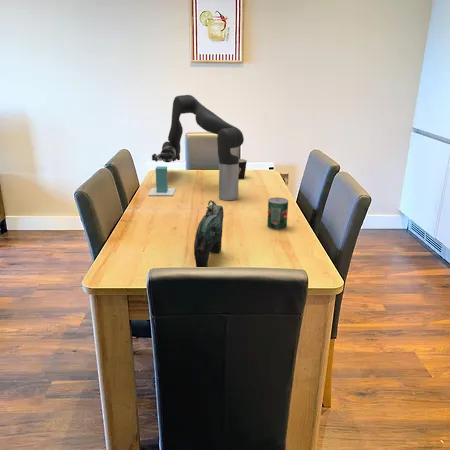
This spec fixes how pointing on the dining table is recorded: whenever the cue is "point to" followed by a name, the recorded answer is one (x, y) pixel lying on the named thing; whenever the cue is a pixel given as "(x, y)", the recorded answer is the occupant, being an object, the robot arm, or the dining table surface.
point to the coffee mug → (242, 168)
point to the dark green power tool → (209, 234)
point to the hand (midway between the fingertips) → (164, 159)
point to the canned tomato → (277, 213)
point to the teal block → (161, 180)
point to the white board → (169, 193)
